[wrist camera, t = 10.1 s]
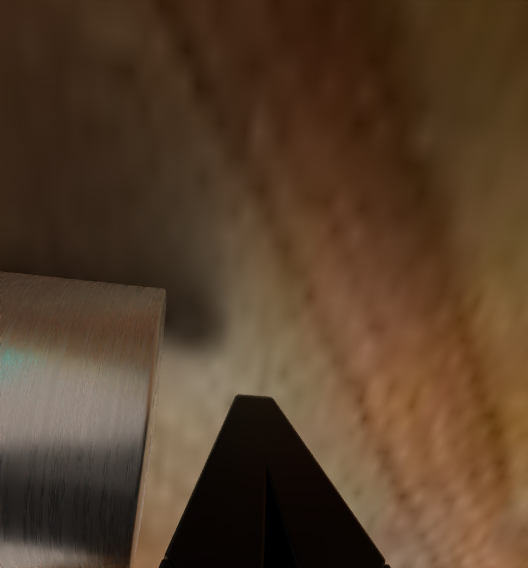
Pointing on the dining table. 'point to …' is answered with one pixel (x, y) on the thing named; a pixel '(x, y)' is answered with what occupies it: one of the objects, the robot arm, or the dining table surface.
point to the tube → (75, 418)
